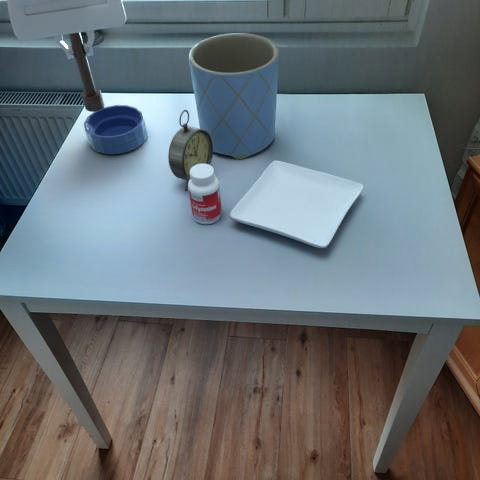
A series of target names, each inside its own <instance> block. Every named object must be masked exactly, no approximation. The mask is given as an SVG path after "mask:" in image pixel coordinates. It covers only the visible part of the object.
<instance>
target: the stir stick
mask: <svg viewBox="0 0 480 480" xmlns="http://www.w3.org/2000/svg"><path fill="white" fill-rule="evenodd" d="M67 35H68V37H69V38H68V39H69V42H70V46H72V49H73V52H74V56H75V58H74V59H75V62H76V66H77V69H78V72H79V76H80V79H81V82H82V87H83V91H82V92H81V93H80V96H81V98H82V102H83V105H84V108H85V110H86V111H87V112H90V113H91V112H92V113H93V112H95V111H99V110H101V109H103V108H104V107H106V106H105V102H104V98H103V94H102V91H101V89H99V88H97V87H96V85H95V81H94V79H93V74H92V71H91V67H90V64H89V60H88V56H87V57H86V53H85V50H84V45H83V44H84V42H83V41H84V40H83V38H82V35H81V32H78V33H72V34H67Z"/></svg>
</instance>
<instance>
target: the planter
mask: <svg viewBox="0 0 480 480" xmlns="http://www.w3.org/2000/svg"><path fill="white" fill-rule="evenodd" d="M279 60H280V50H279V47H278V45H277V44H276V43H275V42H274V41H272V40H271V39H269V38H267V37H265V36H261V35H259V34H255V33H254V34H252V33H245V32H236V33H235V32H234V33H224V34H217V35H214V36H211V37H208V38H205V39H204V40H201V41H199V42H198V43H196V44H194V46H193V47H192V48H191V49H190V51H189V53H188V64H189V69H190V75H191V82H192V88H193V96H194V101H195V107H196V114H197V119H198V125H199V129H204V130H206V131H207V132H208V133H209V135H210V137H211V139H212V144H213V153H216V154H220V155H224V156H228V157H229V156H230V157H233V158H234V159H236V160H242V159H246V158H248V157H251V156H253V155H255V154H257V153H259V152H262V151H263V150H264V149H266V148H268V146H269V145H271V144H272V143H273V141H274V139H275V134H276V133H275V132H276V115H277V101H278V100H277V99H278V85H279V84H278V83H279Z"/></svg>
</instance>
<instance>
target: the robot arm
mask: <svg viewBox="0 0 480 480" xmlns="http://www.w3.org/2000/svg"><path fill="white" fill-rule="evenodd" d="M6 2H7V3H6V4H7V11H8V12H7V13H8V17H9V20H10V24H11V28H12V31H13V33H14V36H15V37H16V38H17V39H18V40H20V41H21V42H26V41H33V40H38V39H45V38H52V37H53V38H54V41H55V43H56V44H57V45H58V46H59V47H60V48H61V49H62V50H63V51H64V54H65V56H66V60H67V61H69V60H74V59H75V56H74V52H73V49H72V46H71V45H67V44H66V42H65V41H64V35H68V34H72V33H78V32H80V33H83V32H84V33H86V37H88V38H87V42H86V43H83V45H84V50H85V53H86V57H87V58H88V57H93V56H95V55H94V50H93V46H94V42H95V37H96V35H95V31H97V30H104V29H109V28H116V27H122V26H124V25H125V23H126V21H127V15H126V10H125V7H124V4H123V0H6Z"/></svg>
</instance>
